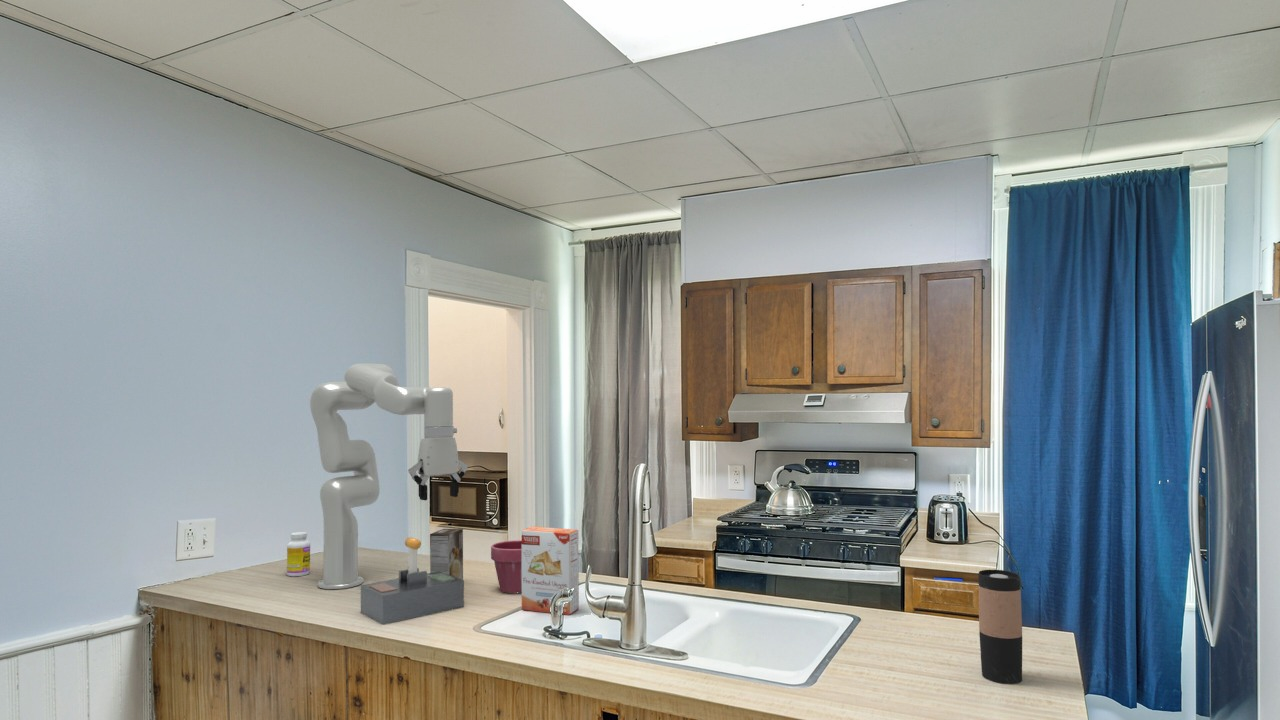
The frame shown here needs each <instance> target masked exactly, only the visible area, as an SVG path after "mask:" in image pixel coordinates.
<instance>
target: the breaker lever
mask: <svg viewBox="0 0 1280 720" xmlns="http://www.w3.org/2000/svg"><path fill="white" fill-rule="evenodd" d="M404 545H405V546H406V547H407V548H408V552H407V553H408V554H407V557H408V560H407V561H408V562H407V563H408V568H407V569H408V574H410V573H415V572H417V568H418V549H420V548H421V545H422V541H421V540H419V539H417V538H414V537H412V536H409V537H407V538H406V539H405V541H404Z"/></svg>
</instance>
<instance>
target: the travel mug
mask: <svg viewBox="0 0 1280 720" xmlns="http://www.w3.org/2000/svg"><path fill="white" fill-rule="evenodd" d="M977 575H978V576H977V577H978V623H979V624H978V630H979V633H978V634H979V645H980V648H979V650H980V663H981V664H980V665H981V667H980V668H981V675H982V678H984V679H986V680H988V681H989V682H994V683H997V684H1004V685H1015V684H1020V683H1021V682H1022V680H1023V618H1022V615H1023V614H1022V592H1021V589H1022V588H1021V576H1020V574H1019V573H1016V572H1014V571H1008V570H1004V569H982V570H979V571H978V573H977Z"/></svg>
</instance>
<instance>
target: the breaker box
mask: <svg viewBox="0 0 1280 720" xmlns="http://www.w3.org/2000/svg"><path fill="white" fill-rule="evenodd" d="M464 598H465V580H464V579H463V580H462V579H459V578H456V577H453V576H451V575H448V574H445V573H443V572H440V571H438V572H432V573H430V572H428V571H427V570H422V571H419V567H417V572H415V573H410V574H408V568H407V569H401V570H398V578H393V579H389V580H382V581H376V582H371V583H364V584H360V614H362V613H363V615H364V614H365V616H366V617H368V618H369V619H370V618H371V619H372V620H374V621H375V620H376V621H375V622H378V623H379V624H381V625H387V624H392V623H397V622H401V620H402V621H407V620H409V619H410V620H411V619H415V618H419V617H424V615H425V616H429V614H430V615H434V614H438V612H439V613H443V611H444V612H447V611H452V609H453V610H456V609H461V607H462V608H464V606H465V599H464Z"/></svg>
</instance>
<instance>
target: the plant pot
mask: <svg viewBox="0 0 1280 720" xmlns="http://www.w3.org/2000/svg"><path fill="white" fill-rule="evenodd" d="M490 559H491V561H494V567H495V568H494V569H495V572H496V577H497V581H498V585H499V590H500V591H501V592H502V593H506V592H508V593H507V594H518V593H517V592H522V539H521V540H518V539H516V540H504V541H500V542H496V543H493V544H492V545H491V546H490Z"/></svg>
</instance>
